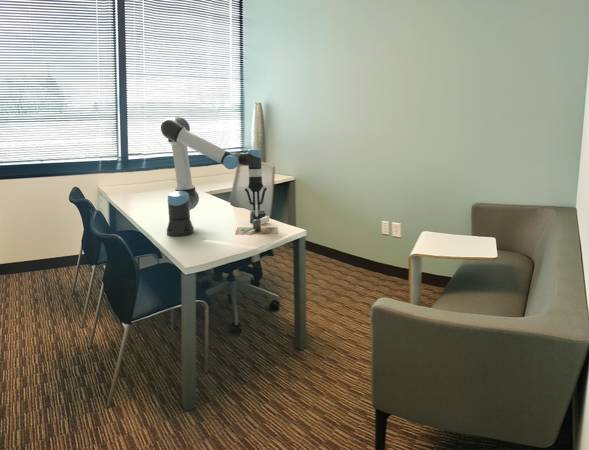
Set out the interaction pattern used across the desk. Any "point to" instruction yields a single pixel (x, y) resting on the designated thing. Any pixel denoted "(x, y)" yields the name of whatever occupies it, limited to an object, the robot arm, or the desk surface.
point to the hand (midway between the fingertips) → (256, 215)
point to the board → (263, 231)
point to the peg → (259, 223)
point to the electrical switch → (252, 216)
